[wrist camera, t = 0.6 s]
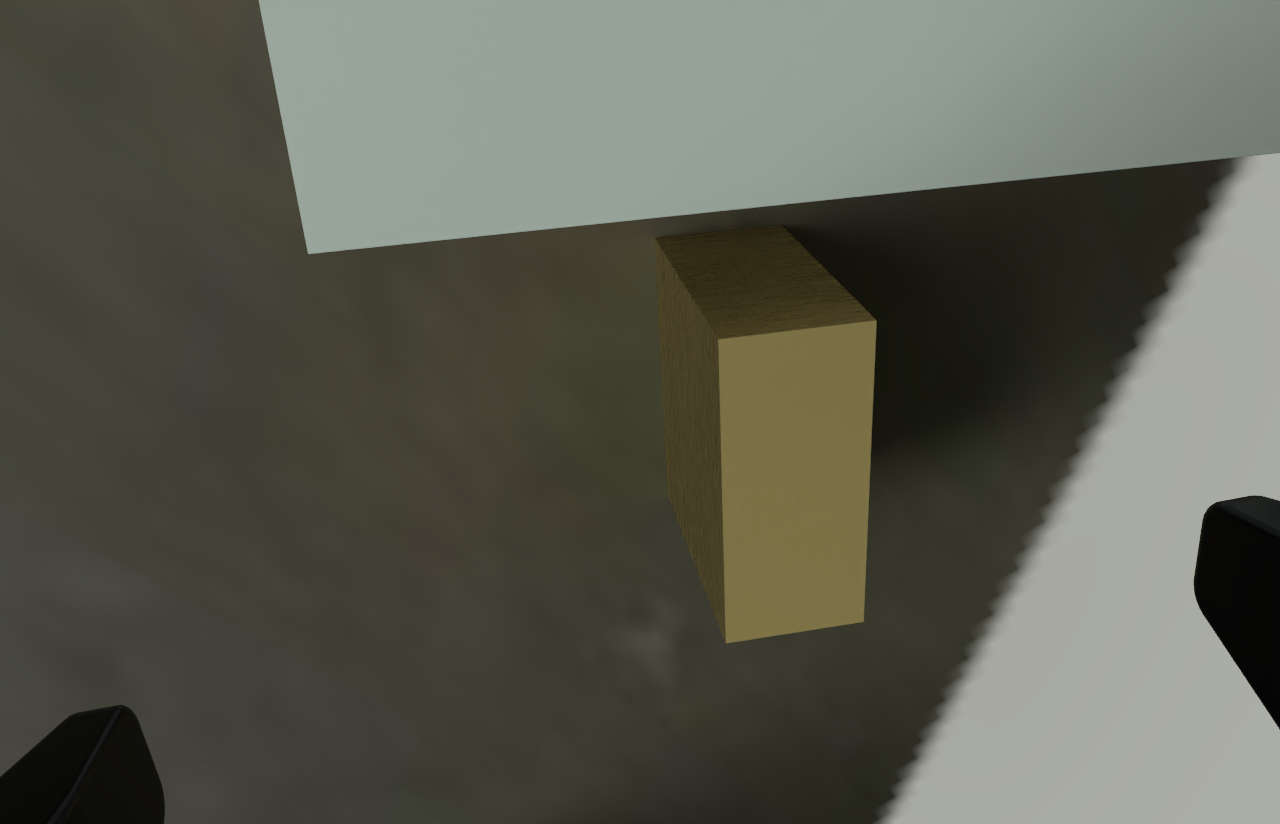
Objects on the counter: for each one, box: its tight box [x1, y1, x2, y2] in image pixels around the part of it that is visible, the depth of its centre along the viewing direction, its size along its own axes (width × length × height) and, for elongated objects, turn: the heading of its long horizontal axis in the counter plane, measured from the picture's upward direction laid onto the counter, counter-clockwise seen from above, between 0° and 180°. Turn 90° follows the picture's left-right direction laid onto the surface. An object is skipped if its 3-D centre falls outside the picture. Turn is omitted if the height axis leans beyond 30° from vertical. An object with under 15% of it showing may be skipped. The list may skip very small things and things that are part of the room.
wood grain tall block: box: [655, 225, 877, 643], centre depth 20 cm, size 6×2×5 cm, turn 3°
